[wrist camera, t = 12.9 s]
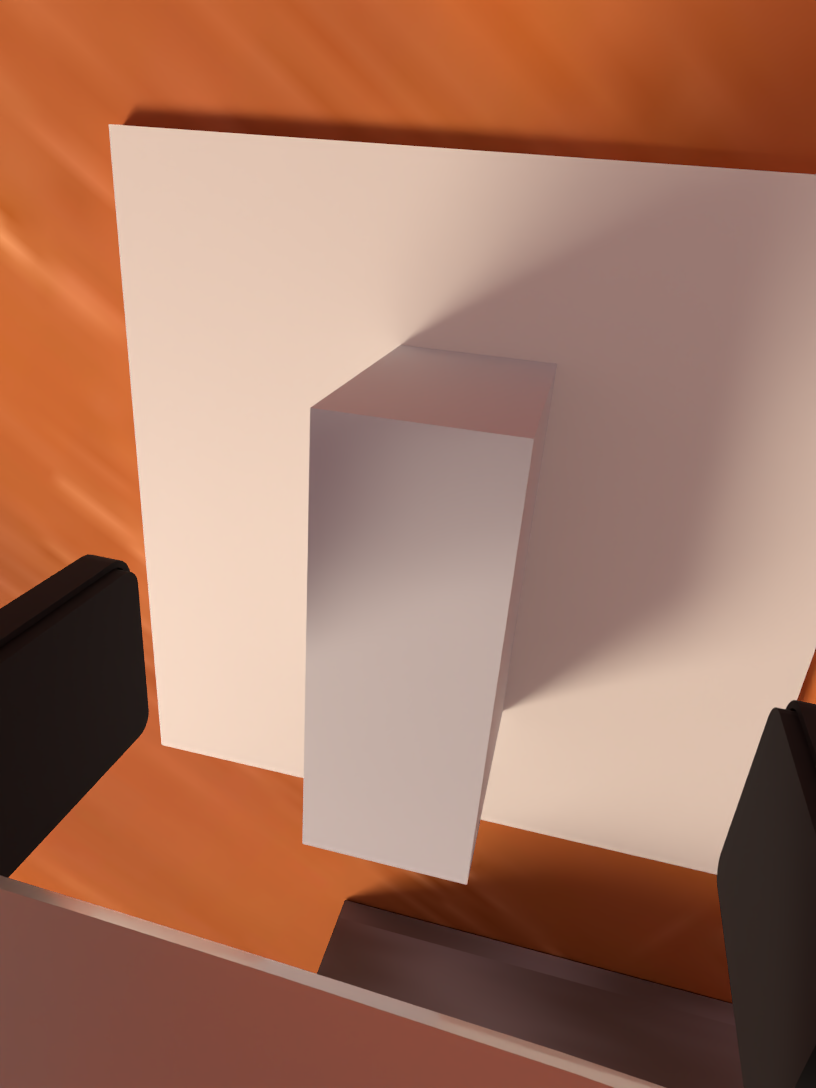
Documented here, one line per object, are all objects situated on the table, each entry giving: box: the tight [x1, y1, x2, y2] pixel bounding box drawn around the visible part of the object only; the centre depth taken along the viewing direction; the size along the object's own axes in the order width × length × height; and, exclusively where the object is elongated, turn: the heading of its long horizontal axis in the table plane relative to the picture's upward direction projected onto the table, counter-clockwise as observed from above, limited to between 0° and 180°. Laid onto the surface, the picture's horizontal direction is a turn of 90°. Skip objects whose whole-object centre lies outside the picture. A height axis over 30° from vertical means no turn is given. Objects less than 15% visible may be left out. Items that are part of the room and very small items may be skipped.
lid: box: [109, 124, 816, 885], centre depth 14 cm, size 15×15×6 cm
